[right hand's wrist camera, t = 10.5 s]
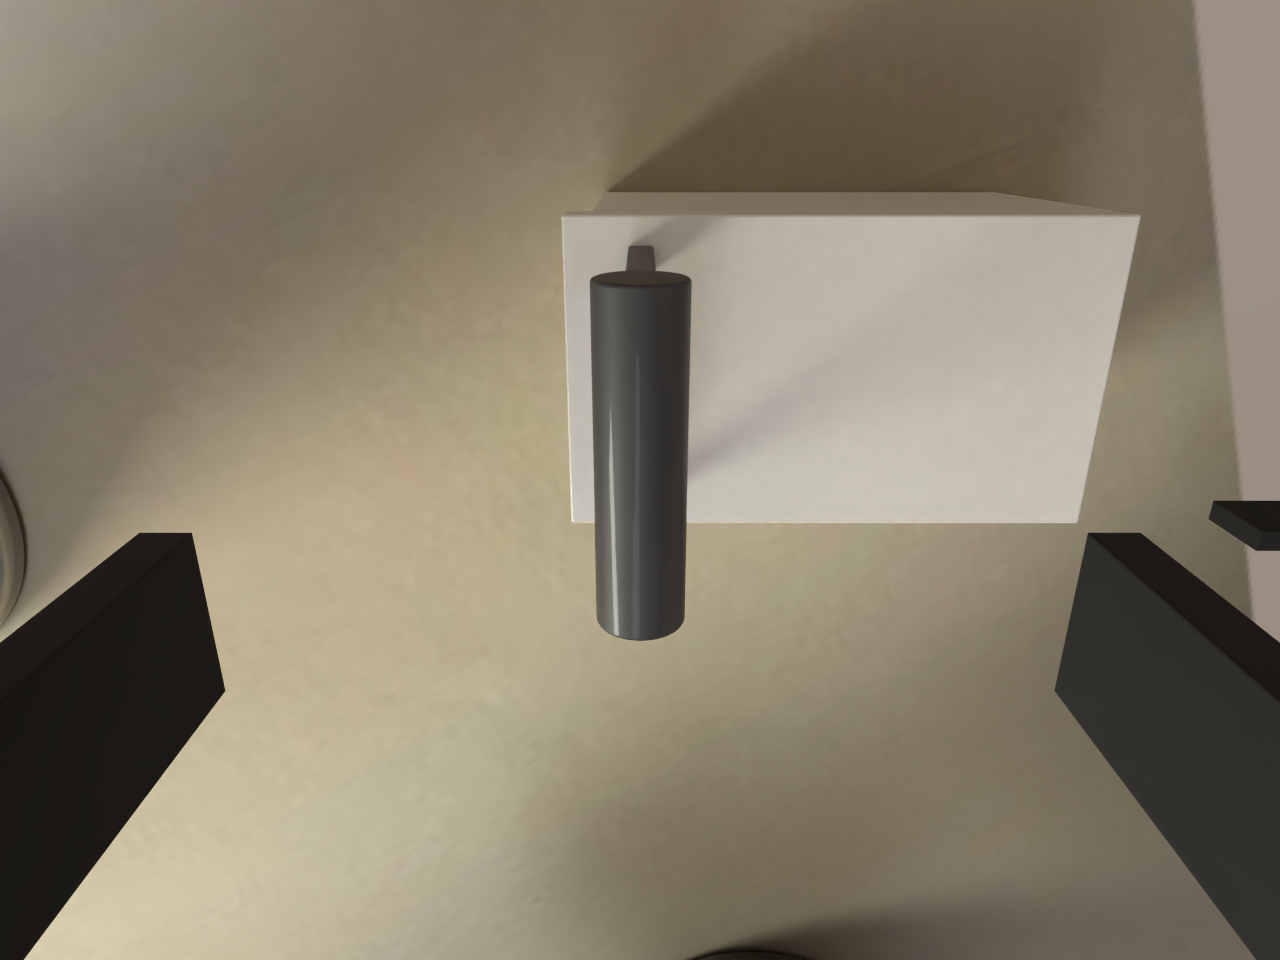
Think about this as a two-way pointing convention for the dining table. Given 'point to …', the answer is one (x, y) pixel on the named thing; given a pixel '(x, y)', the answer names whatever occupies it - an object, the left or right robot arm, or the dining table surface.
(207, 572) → the dining table surface
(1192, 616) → the right robot arm
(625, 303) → the lid
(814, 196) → the chest
